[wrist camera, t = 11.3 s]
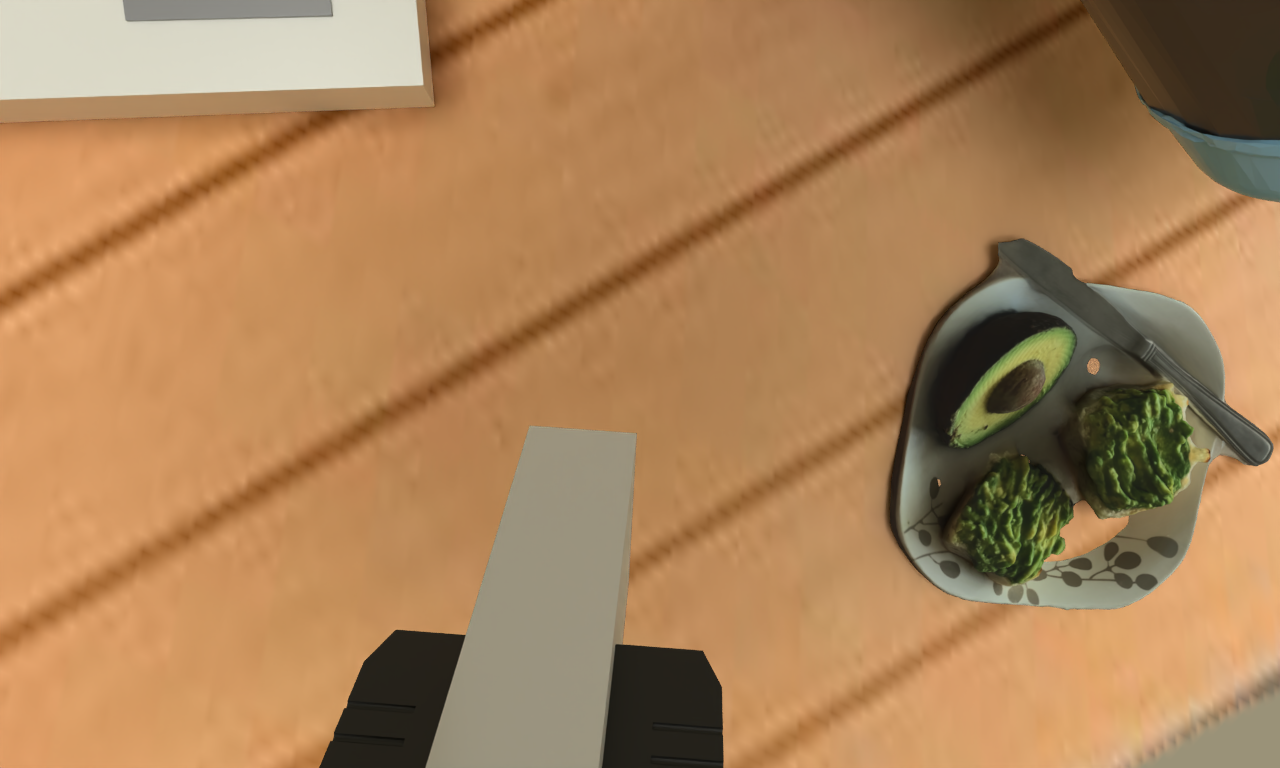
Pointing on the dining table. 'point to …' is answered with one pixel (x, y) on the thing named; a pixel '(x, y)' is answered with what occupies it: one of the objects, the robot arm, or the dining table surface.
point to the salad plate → (1059, 437)
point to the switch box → (210, 57)
